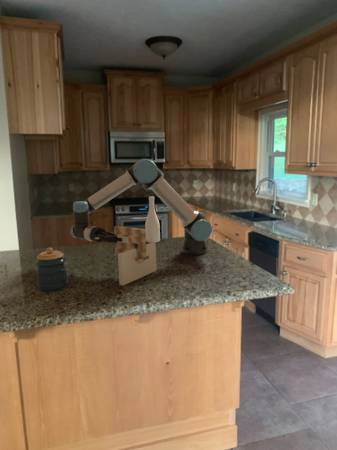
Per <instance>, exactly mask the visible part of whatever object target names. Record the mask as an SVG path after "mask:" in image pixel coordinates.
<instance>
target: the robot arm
mask: <svg viewBox="0 0 337 450" xmlns="http://www.w3.org/2000/svg"><path fill="white" fill-rule="evenodd" d="M138 184H142V186H143V187H144V188H145V189H146V190H150V191H153V193H154V194H155V195H156V196H157V197H158V198H159V199H160V201H161V202H162V203H164V205H166V207H167V208H168V209H169V210H170V211H171V212H172V213H173V214H174V215H175V216H176V217H177V218H178V219H179V220H180V222H182V223H181V226H182V227H183V232H184V239H183V243H182V245H181V253H183V254H185V255H190V256H191V255H193V256H197V255H203V254H206V253H207V252H208V246H207V243H206V240H208V239H209V238H210V237H211V235H212V233H213V227H212V223H211V222H210V221H209V220H207V219H206V218H205V213H204V212H199V211H198V210H194V209H193V208H192V207H191V206H190V204H188V203H187V201H185V200H184V198H182V196H181V195H179V193H178V192H177V191H176V190H175V189H174V188H173V187H172V186H171V185H170V184H169V182H168V181H167V180H166V179H165V178H164V173H163V172H162V170H161V169H160V168H159V167H158V166H157V164H156V163H155V162H154V161H153V160H151V159H149V158H141V159H139V160H137V161H136V162H135V163H134V164H133V165H132V166H131V167H130V168H128V169H126V171H125V173H123V174H122V175H121V176H119V177H118V178H116V179H115V180H113V181H112V182H110V183H108V184H107V185H106V186H104V187H102V188H101V189H99V190H98V191H96V192H95V193H93V194H92V195H91V196H88V197H87V198H86V199H85V200H83V201H82V200H81V201H74V202H73V203H72V210H73V211H72V213H73V225H72V226H71V227H70V231H69V232H70V235H71V237H72V238H75V239H78V240H85V241H89V242H91V243H93V242H95V243H102V242H106V243H107V242H108V243H114V244H115V243H117V241H118V242H122V243H129V237H123V236H114V230H113V231H108V230H105V229H104V228H103V227H100V226H96V225H94V226H93V225H90V217H89V215H90V214H92V213H93V212H95V211H96V210H97V209H100V208H101V207H102V206H104V205H105V204H107V203H108V202H110V201H111V200H112V199H114V198H116V197H117V196H118V195H119V196H120V194H122V193H123V192H125V191H127V190H128V189H129V188H131V187H132V186H138Z"/></svg>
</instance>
